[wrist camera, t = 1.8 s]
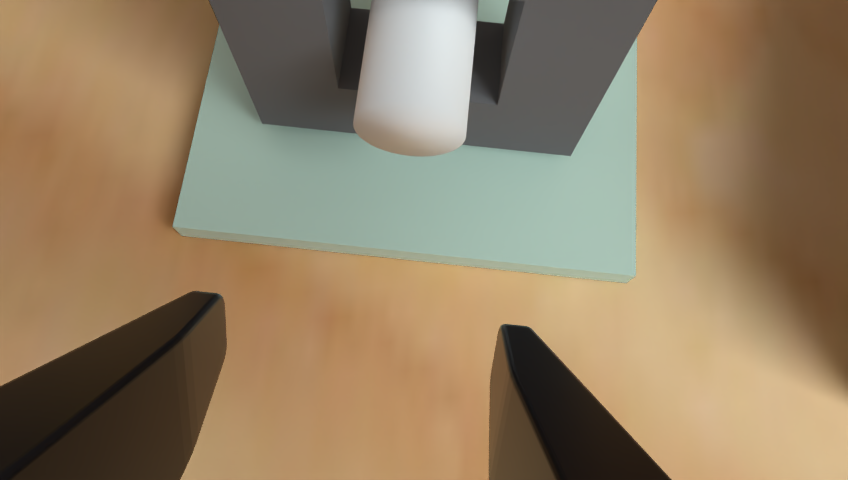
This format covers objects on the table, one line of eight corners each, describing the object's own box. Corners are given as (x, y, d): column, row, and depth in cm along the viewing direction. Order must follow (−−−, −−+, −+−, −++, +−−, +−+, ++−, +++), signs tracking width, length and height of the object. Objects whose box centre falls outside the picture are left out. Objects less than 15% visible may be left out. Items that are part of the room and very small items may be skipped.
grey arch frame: (570, 156, 24) (702, -82, 13) (262, 123, 24) (149, -139, 13) (573, 82, 25) (699, -196, 14) (276, 51, 25) (181, -249, 14)
